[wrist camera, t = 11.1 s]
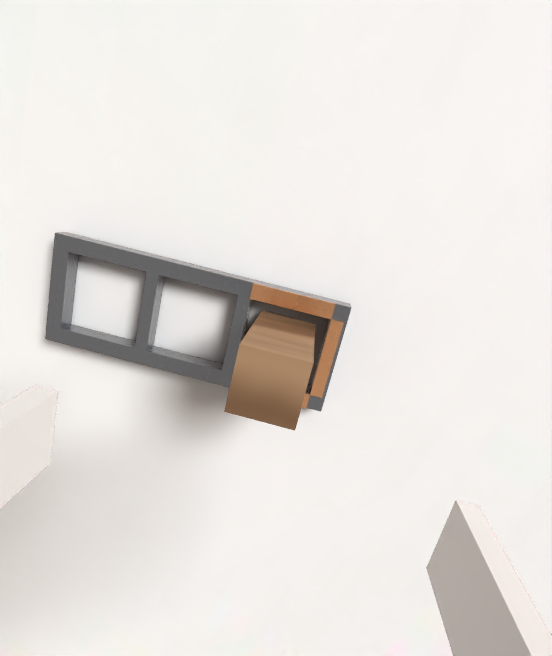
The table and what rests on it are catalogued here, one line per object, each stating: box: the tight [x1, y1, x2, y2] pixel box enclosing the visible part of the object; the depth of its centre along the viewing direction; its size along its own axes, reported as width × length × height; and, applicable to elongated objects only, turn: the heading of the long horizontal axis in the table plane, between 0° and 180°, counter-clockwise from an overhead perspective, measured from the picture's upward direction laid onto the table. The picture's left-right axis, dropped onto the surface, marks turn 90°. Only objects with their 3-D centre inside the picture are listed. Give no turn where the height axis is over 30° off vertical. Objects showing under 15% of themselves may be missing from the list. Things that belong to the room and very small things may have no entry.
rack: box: [45, 232, 351, 411], centre depth 34 cm, size 9×24×2 cm, turn 77°
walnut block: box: [224, 310, 315, 430], centre depth 30 cm, size 4×4×10 cm
